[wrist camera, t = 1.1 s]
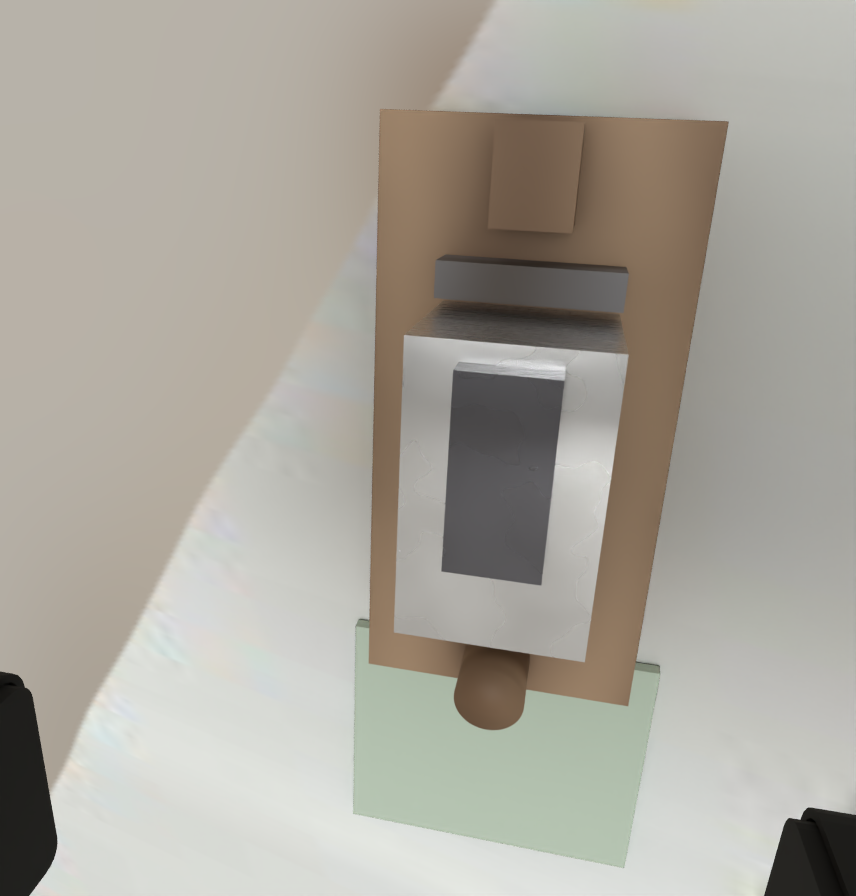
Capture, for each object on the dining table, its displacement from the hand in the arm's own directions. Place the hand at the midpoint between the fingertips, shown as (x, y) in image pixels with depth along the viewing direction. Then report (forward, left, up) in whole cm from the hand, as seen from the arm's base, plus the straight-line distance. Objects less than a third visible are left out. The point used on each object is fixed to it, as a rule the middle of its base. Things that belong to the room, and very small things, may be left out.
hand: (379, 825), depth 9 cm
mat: (0, +15, -19) cm, 24 cm away
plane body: (0, 0, -19) cm, 19 cm away
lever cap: (0, 0, -15) cm, 15 cm away
